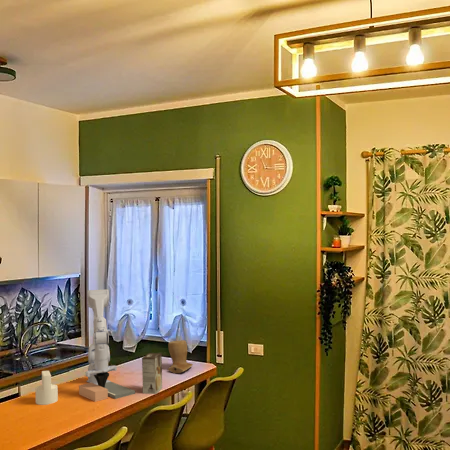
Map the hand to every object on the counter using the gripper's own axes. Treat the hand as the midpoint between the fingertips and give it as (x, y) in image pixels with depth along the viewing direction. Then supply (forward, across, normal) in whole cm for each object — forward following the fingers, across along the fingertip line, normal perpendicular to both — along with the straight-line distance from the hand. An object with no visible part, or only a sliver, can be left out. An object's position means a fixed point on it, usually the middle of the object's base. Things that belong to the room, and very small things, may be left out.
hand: (101, 389), depth 242 cm
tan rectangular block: (+2, -4, 0) cm, 5 cm away
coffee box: (+2, +19, -12) cm, 22 cm away
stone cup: (+2, +49, +7) cm, 49 cm away
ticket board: (+2, +6, 0) cm, 6 cm away
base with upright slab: (+2, -21, +9) cm, 23 cm away
